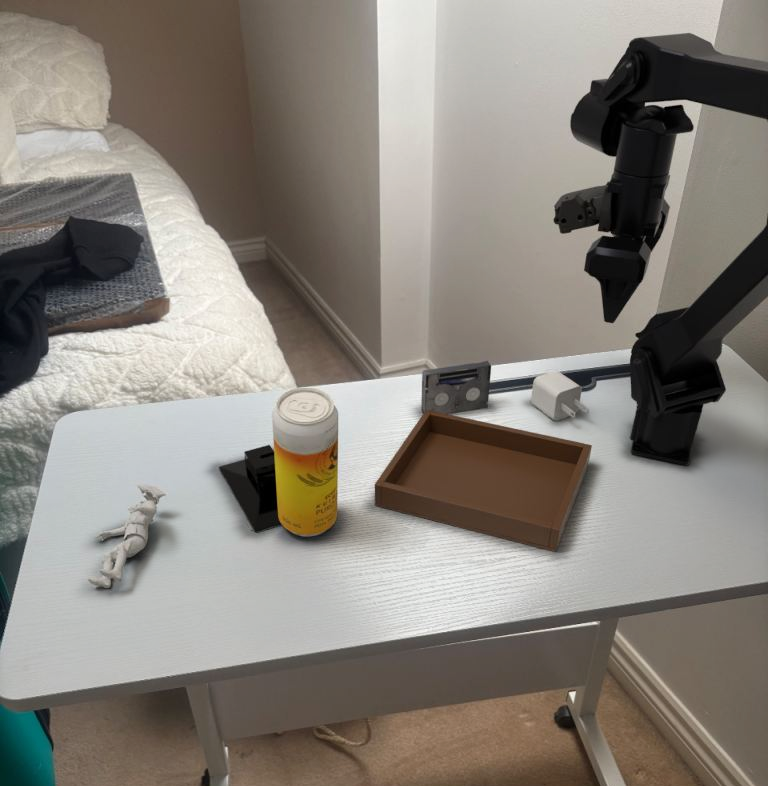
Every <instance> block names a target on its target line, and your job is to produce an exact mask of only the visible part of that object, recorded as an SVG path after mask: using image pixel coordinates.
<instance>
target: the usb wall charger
mask: <svg viewBox="0 0 768 786" xmlns="http://www.w3.org/2000/svg"><path fill="white" fill-rule="evenodd" d="M582 392H583V387H582V386H581V385H579V384H578V383H576V382H575V381H574V380H572V379H571V378H569V377H567V376H566V375H564V374H563V373H561V372H560V371H559V370H553V371H549V372H546V373H543V374H541V375H538V376H536V377H535V378H534V379H533V382H532V389H531V396H530V397H531V398H530V403H531V404H532V406H534V407H535V408H537V409H538V410H540V412H542V413H544V414H545V415H547V416H548V417H549V418H550V419H552V420H553V421H554V422H555V421H559V420H563V419H566V418H568V417H572V418H573V419H575V418H576V415H577V412H578V411H579V409H580V410H581V411H583V412H584V413H586V414H589V410H590V407H588V406H586V405H585V404H584V403H583V402H581V398H582Z"/></svg>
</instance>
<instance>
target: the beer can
mask: <svg viewBox="0 0 768 786" xmlns="http://www.w3.org/2000/svg"><path fill="white" fill-rule="evenodd" d="M271 418H272V423H271V424H272V437H273V438H272V439H273V451H274V456H275V472H276V488H277V505H278V518H279V520H280V522H281V524H282V525H281V526H282V527H283V528H285V530H288V531H289V532H290V533H292V534H294V535H296V536H300V537H315V536H319V535H321V534H324V533H325V532H326V531H327V530H329V529H330V528H332V526H333V525H334V524H335V522H336V520H337V518H338V489H339V488H338V484H339V483H338V482H339V481H338V480H339V479H338V478H339V477H338V474H339V472H338V471H339V411H338V408H337V407H336V404H335V401H334V399H333V398H332V397H331V396H330V395H329V393H326V391H324V390H321V389H317V388H315V387H296V388H293V389H289V390H287V391H285V392H284V393H282V394H281V395H280V396H278V398H277V400H276V402H275V406H274V407H273V410H272V412H271Z"/></svg>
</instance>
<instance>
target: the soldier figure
mask: <svg viewBox="0 0 768 786" xmlns="http://www.w3.org/2000/svg"><path fill="white" fill-rule="evenodd" d="M137 488H138V489H139V490H140V492H141V496H142V497H143V498H145V500H141V501H139V502H138V503H136V505H133V506H129V507H128V508H127V511H129V513H130V515H129V518H128V521H125V523H124V526H120V527H117V528H113V529H109V530H106V531H100V532H99V533H97V535H96V536H95V537H94V538H95V540H97V539H98V538H100V537H102V539H101V542H103V541H104V540H106V538H108V536H110V537H116V536H123V535H124V536H123V541H122V542H120V543H119V544H117V545H115V546H114V547H113V548H111V549H110V550H108V551H106V552H105V553H104V555H103V559H102V561H101V565H102V569H100V570H99V573H100V574H101V577H99V578H98V577H97V578H95V577H88V579H87V581H88V582H89V583H90V584H92V585H93V586H97V587H102V588H105V589H110V588H111V585H112V580H113V581H117V582H121V581H122V579H123V571H124V568H125V565H126V561H127V559H128V558H131V557H133V556H134V557H135V555H137V554H138V553H139V552H140V551H142V550H143V549H145V547H146V545H147V544H148V539H149V538H148V537H149V529H148V528H149V527H150V526H151V524H152V523H153V522H154V518H155V516H156V513H157V512H158V511H157V509H158V506H157V504H159V502H160V498H162V497H164V496H166V495H167V494H166V493H165V492H164V491H163V490H162V489H160V488H158V487H156V486H152V485H148V484H138V485H137ZM114 562H115V563H114Z"/></svg>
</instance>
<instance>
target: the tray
mask: <svg viewBox="0 0 768 786" xmlns="http://www.w3.org/2000/svg"><path fill="white" fill-rule="evenodd" d="M592 448H593V444H588V443H584V442H580V441H574V440H570V439H566V438H561V437H557V436H551V435H546V434H542V433H537V432H532V431H528V430H524V429H518V428H514V427H509V426H504V425H500V424H495V423H490V422H486V421H481V420H477V419H472V418H467V417H463V416H458V415H454V414H444V413H440V412H435V411H430V410H426V411H425V412H424V414H423V413H422V415H421V416H420V417H419V419H418V421H417V422H416V424H415V425H414V427H413V428H412V429H411V430H410V432H409V434H408V435H407V437H406V438H405V440H404V441H403V442H402V444H401V445H400V447H399V448H398V450H397V451H396V453H395V454H394V456H393V457H392V459H391V460H390V461H389V463H388V464H387V466H386V467H385V469H384V470H383V471H382V472H381V474H380V476H379V477H378V479H377V480H376V482H375V483H374V506H375V507H379V508H383V509H387V510H391V511H394V512H399V513H402V514H406V515H410V516H413V517H414V516H415V517H417V518H422V519H425V520H429V521H434V522H437V523H441V524H446V525H450V526H453V527H457V528H460V529H464V530H468V531H473V532H476V533H481V534H484V535H488V536H493V537H496V538H500V539H502V540H503V539H504V540H507V541H511V542H516V543H520V544H523V545H528V546H532V547H534V548H535V547H536V548H539V549H543V550H547V551H551V552H555V553H556V552H557V549H558V547H559V545H560V542H561V540H562V537H563V534H564V531H565V529H566V526H567V523H568V521H569V518H570V515H571V512H572V510H573V508H574V505H575V503H576V500H577V497H578V495H579V491H580V489H581V487H582V484H583V481H584V478H585V476H586V473H587V470H588V468H589V464H590V459H591V454H592Z"/></svg>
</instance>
